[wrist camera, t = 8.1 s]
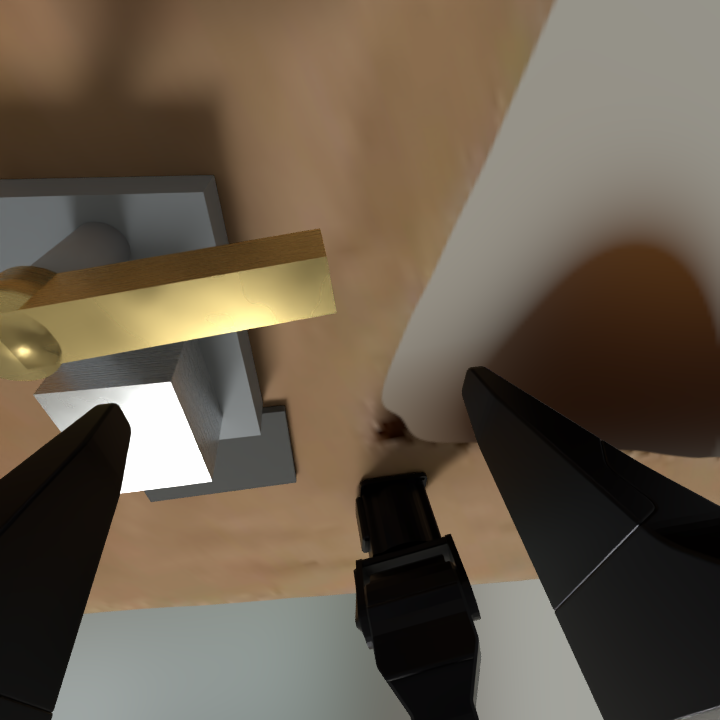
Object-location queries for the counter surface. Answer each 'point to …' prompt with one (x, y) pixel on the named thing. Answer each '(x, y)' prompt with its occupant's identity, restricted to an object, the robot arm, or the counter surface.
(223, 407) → the body
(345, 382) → the counter surface
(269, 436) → the rubber mat
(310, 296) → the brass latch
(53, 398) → the lever cap
